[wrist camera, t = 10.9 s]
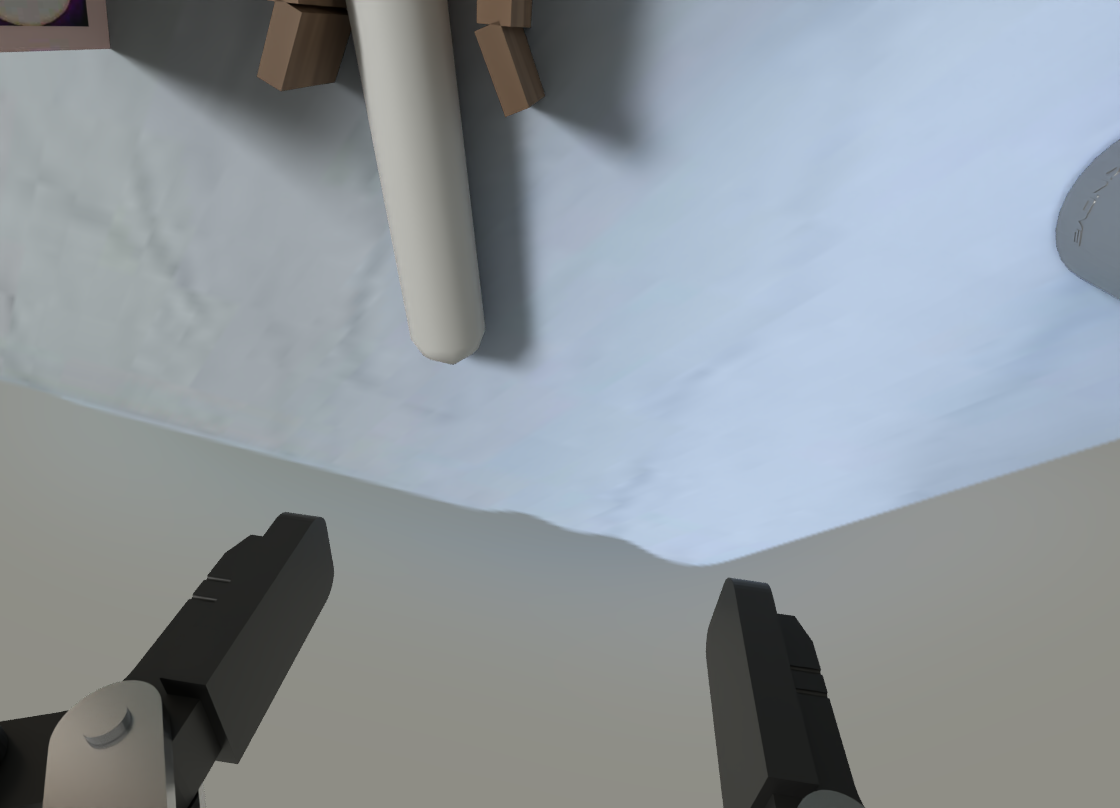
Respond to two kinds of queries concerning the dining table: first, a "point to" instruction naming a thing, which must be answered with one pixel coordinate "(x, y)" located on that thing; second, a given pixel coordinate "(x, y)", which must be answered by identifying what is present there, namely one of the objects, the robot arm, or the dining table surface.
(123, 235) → the dining table surface
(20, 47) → the greeting card
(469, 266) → the tube
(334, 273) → the dining table surface
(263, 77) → the socket block
